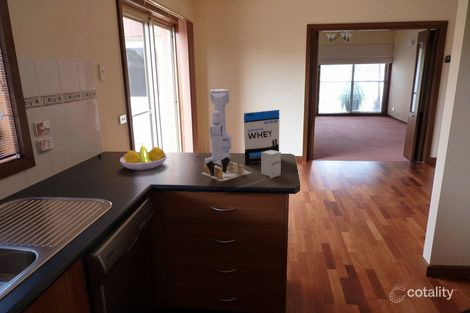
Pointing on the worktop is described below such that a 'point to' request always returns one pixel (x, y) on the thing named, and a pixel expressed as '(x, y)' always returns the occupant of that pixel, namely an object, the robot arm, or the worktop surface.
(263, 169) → the supplement box
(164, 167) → the worktop surface
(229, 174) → the halving base
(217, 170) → the wooden block
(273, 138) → the protein powder
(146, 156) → the fruit bowl
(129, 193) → the worktop surface
